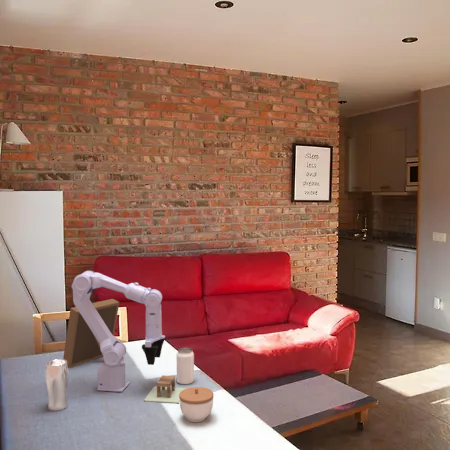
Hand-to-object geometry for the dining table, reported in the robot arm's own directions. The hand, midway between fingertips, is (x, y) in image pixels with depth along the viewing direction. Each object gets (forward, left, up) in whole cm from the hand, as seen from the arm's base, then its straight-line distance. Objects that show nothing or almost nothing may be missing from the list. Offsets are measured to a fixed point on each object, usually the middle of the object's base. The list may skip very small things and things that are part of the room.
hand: (154, 360), depth 171 cm
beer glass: (-27, -20, -10) cm, 35 cm away
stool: (+6, -6, -10) cm, 12 cm away
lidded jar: (+20, -21, -10) cm, 31 cm away
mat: (+6, -6, -10) cm, 13 cm away
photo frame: (-32, +22, -10) cm, 40 cm away
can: (+10, +7, -10) cm, 16 cm away
